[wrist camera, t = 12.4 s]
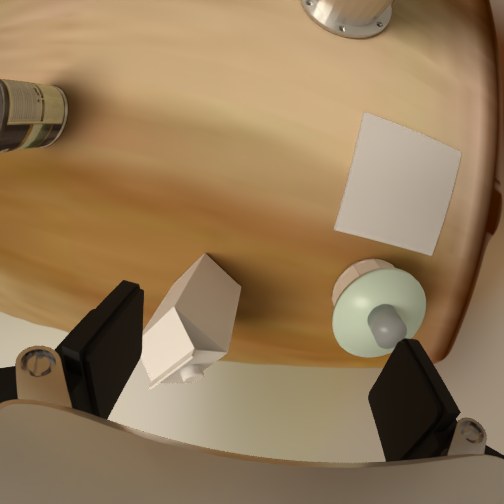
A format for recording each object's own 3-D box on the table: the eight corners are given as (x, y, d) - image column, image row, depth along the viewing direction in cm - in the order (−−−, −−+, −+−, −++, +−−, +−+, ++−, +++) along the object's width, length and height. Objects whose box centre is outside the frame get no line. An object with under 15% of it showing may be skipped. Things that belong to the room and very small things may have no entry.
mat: (363, 112, 34) (364, 111, 33) (459, 152, 34) (461, 152, 34) (333, 228, 39) (334, 230, 39) (430, 254, 40) (431, 256, 39)
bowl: (345, 250, 40) (356, 267, 35) (411, 266, 40) (428, 284, 35) (321, 318, 44) (327, 342, 38) (385, 329, 44) (396, 351, 39)
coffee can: (56, 155, 38) (-9, 167, 25) (18, 138, 37) (-43, 146, 24) (78, 92, 34) (13, 82, 21) (37, 80, 33) (-24, 73, 20)
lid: (351, 257, 34) (362, 274, 30) (437, 277, 34) (455, 295, 30) (318, 346, 39) (323, 371, 34) (399, 356, 39) (410, 378, 34)
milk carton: (173, 283, 44) (120, 367, 26) (205, 251, 42) (160, 330, 24) (208, 315, 45) (176, 409, 27) (242, 286, 43) (223, 380, 25)
